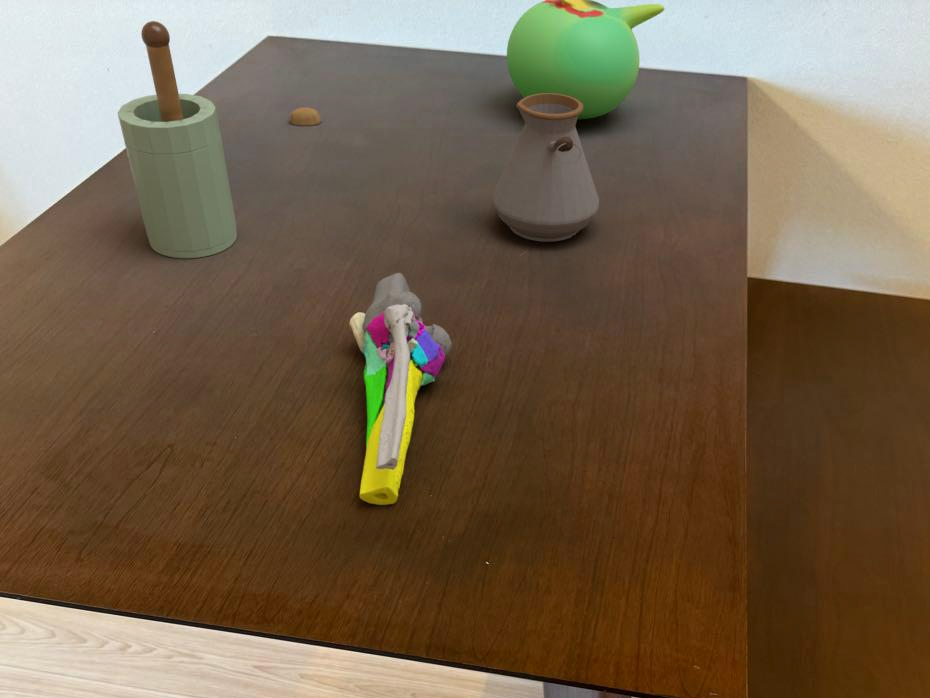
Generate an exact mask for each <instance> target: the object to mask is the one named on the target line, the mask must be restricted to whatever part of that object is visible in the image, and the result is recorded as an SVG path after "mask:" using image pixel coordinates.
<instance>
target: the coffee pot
mask: <svg viewBox="0 0 930 698" xmlns="http://www.w3.org/2000/svg"><path fill="white" fill-rule="evenodd" d="M515 107H516V109H518V111H519V114H520V116H521V117H522V119H523V121H524V126H523V128H522V130H521V132H520V134H519V136H518V139H517V141H516V143H515V144H514V145H515V146H514V148H513V149H512V152H511V154H510V156H509V158H508V160H507V163H506V165H505V167H504V169H503V172H502V173H501V176H500V178H499V180H498V182H497V185H496V186H495V188H494V191H493V195H492V204H493V207H494V209H495V212H496V214H497V217H498V218H499V219H500V220H501V221H502V222H503V223H504V224H505V225H506V226H507V227H509V228H510V230H511V231H512V232H513V233H514V234H516V235H517V236H519V237H521V238H523V239H526V240H530V241H535V242H544V243H545V242H548V243H549V242H550V243H551V242H558V241H565V240H568V239H570V238H573V237H574V236H576V235H577V234H578V233H579V232H580V231H581V230H583V229H584V228H586V226H588V225H589V224H590V223H592V221H593V219H594V217H595V216H596V214H597V213H598V211H599V208H600V199H599V195H598V191H597V189H596V186H595V183H594V179H593V176H592V174H591V170H590V168H589V165H588V162H587V158H586V155H585V152H584V148H583V146H582V143H581V140H580V136H579V134H578V131H577V128H576V124H577V121H578V119H577V118H578V115H580V114H581V112H582V111H583V104H582V103H581V102H580V101H579V100H577V99H575V98H573V97H570V96H567V95H562V94H553V93H541V94H534V95H530V96H527V97H525V98H524V97H522V98H521V99H520V100H518V102H517V103H516V105H515ZM576 233H577V234H576ZM573 235H574V236H573ZM572 236H573V237H572Z"/></svg>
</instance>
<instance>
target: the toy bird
mask: <svg viewBox="0 0 930 698" xmlns="http://www.w3.org/2000/svg"><path fill="white" fill-rule="evenodd" d="M665 9H666V8H665V6H664V5H662V4H659V3H658V4H657V3H653V4H652V3H649V4H638V5H631V6H630V5H629V6H622V7H609V6H607V5H605V4H603V3H601V2H598V1H595V0H543V1H540V2H539V3H536V4H535V5H533V6H531V7H529V8H528V9H527V10H526V11H525V12H524V13H523V14H522V15H521V16H520V17H519V19H518V20H517V21H516V22H515V24H514V26H513V28H512V30H511V32H510V35H509V37H508V41H507V47H506V64H507V70H508V73H509V76H510V79H511V82H512V83H513V85H514V87H515V89H516V91H518V93H519V94H520V95H521V96H522V98H525V97H527V96H530V95H534V94H541V93H553V94H562V95H567V96H570V97H573V98H575V99H577V100H579V101H580V102H581V103H582V104H583V111H582V112H581V114H580V115H578V118H577V120H590V119H594V118H598V117H601V116H603V115H606V114H607V113H610V112H611V111H614V110H615V109H616V108H617V107H619V106H620V105H621V104H622V103H623V102H624V101H625V100H626V98H627V97H628V96H629V94H630V93H631V91H632V90H633V88H634V86H635V84H636V81H637V80H638V79H637V78H638V76H639V70H640V50H639V45H638V41H637V38H636V36H635V34H634V31H633V30H632V29H634V28H636V27H637V26H639V25H642V24H643V23H645V22H647V21H649V20H651V19H653V18H655V17H657V16H658V15H660V14H661V13H663V12H664V11H665Z"/></svg>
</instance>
